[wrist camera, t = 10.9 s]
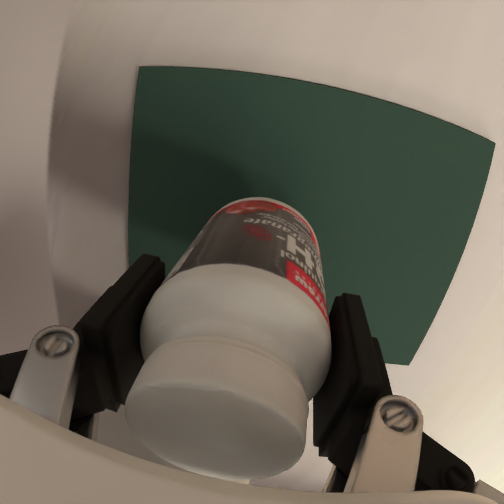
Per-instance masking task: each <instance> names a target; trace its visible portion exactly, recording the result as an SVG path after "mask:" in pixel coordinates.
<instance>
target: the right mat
mask: <svg viewBox="0 0 504 504" xmlns="http://www.w3.org/2000/svg"><path fill="white" fill-rule="evenodd" d="M494 148H495V143H494V142H492V141H490V140H488V139H485V138H483V137H481V136H479V135H477V134H474V133H472V132H470V131H467V130H465V129H463V128H460V127H458V126H455V125H453V124H450V123H448V122H445V121H443V120H440V119H437V118H435V117H432V116H429V115H427V114H424V113H421V112H418V111H415V110H412V109H409V108H406V107H403V106H400V105H397V104H394V103H390V102H387V101H384V100H380V99H377V98H373V97H370V96H366V95H362V94H358V93H355V92H351V91H347V90H342V89H338V88H334V87H329V86H325V85H320V84H315V83H310V82H305V81H300V80H295V79H289V78H283V77H277V76H270V75H263V74H256V73H248V72H239V71H229V70H218V69H206V68H189V67H139V74H138V81H137V89H136V97H135V107H134V117H133V128H132V140H131V155H130V175H129V215H128V234H129V268H130V267H131V266H132V265H133V263H134V262H135V261H136V260H137V259H138V258H139V257H140V256H141V255H142V254H148V255H153V256H158V257H160V259H161V262H164V263H165V279H166V277H167V276H168V274H169V273H170V272H171V270H172V269H173V268H174V266H175V265H176V264H177V262H178V261H179V260H180V258H181V257H182V256H183V254H184V253H185V252H186V250H187V249H188V247H189V246H190V245H191V244H192V242H193V241H194V239H195V238H196V237H197V235H198V234H199V233H200V232H201V230H202V229H203V227H204V226H205V224H206V223H207V222H208V221H209V220H210V219H211V217H212V216H213V215H214V214H215V213H216V212H217V211H219V210H220V209H221V208H223V207H224V206H226V205H227V204H229V203H231V202H233V201H236V200H240V199H244V198H251V197H264V198H270V199H274V200H277V201H280V202H283V203H285V204H287V205H289V206H291V207H292V208H294V209H295V210H296V211H298V212H299V213H300V214H301V215H302V216H303V217H304V218H305V219H306V220H307V221H308V223H309V224H310V226H311V227H312V229H313V231H314V233H315V236H316V239H317V242H318V246H319V251H320V258H321V264H322V272H323V279H324V287H325V294H326V302H327V310H328V317H329V314H330V311H331V308H332V305H333V302H334V299H335V297H336V296H341V295H342V293H343V292H344V293H349V294H355V295H360V297H361V300H362V303H363V307H364V310H365V314H366V318H367V321H368V325H369V328H370V332H371V336H372V337H376V338H377V339H378V341H379V344H380V348H381V352H382V355H383V359H384V363H389V364H399V365H409V364H410V362H411V361H412V359H413V357H414V355H415V354H416V352H417V350H418V348H419V346H420V345H421V343H422V341H423V339H424V337H425V335H426V333H427V331H428V329H429V328H430V326H431V324H432V322H433V320H434V318H435V316H436V314H437V311H438V309H439V307H440V305H441V303H442V301H443V299H444V297H445V294H446V292H447V290H448V288H449V285H450V283H451V281H452V279H453V276H454V274H455V271H456V269H457V267H458V264H459V262H460V259H461V257H462V254H463V251H464V249H465V246H466V243H467V241H468V238H469V235H470V232H471V229H472V227H473V224H474V221H475V218H476V215H477V211H478V208H479V205H480V202H481V199H482V195H483V192H484V188H485V185H486V181H487V177H488V173H489V169H490V165H491V161H492V157H493V153H494Z"/></svg>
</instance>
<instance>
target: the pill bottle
mask: <svg viewBox="0 0 504 504" xmlns="http://www.w3.org/2000/svg"><path fill="white" fill-rule="evenodd" d="M140 347H141V352H142V355H143V359H144V361H145V363H144V365H143V366H142V368H141V370H140V372H139V374H138V376H137V378H136V380H135V382H134V384H133V386H132V388H131V390H130V392H129V394H128V396H127V399H126V402H125V408H124V410H125V416H126V420H127V423H128V425H129V427H130V429H131V430H132V432H133V433H134V435H135V436H136V437H137V439H138V440H139V441H140V442H141V443H142V444H143V445H144V446H146V447H147V448H148V449H149V450H150V451H152V452H153V453H155V454H156V455H158V456H159V457H161V458H162V459H164V460H166V461H167V462H169V463H171V464H173V465H176V466H178V467H180V468H182V469H185V470H187V471H190V472H194V473H197V474H201V475H205V476H210V477H215V478H220V479H228V480H253V479H261V478H265V477H270V476H274V475H277V474H279V473H281V472H283V471H286V470H288V469H289V468H291V467H292V466H293V465H294V464H296V463H297V462H298V460H299V459H300V457H301V456H302V454H303V451H304V448H305V443H306V428H307V418H308V413H309V405H308V402H309V401H310V400H311V399H312V398H313V397H314V396H315V395H316V394H317V392H318V391H319V390H320V388H321V387H322V385H323V383H324V382H325V380H326V377H327V375H328V372H329V369H330V364H331V357H332V343H331V331H330V323H329V317H328V310H327V302H326V294H325V287H324V279H323V272H322V264H321V258H320V251H319V246H318V242H317V239H316V236H315V233H314V231H313V229H312V227H311V226H310V224H309V223H308V221H307V220H306V219H305V218H304V217H303V216H302V215H301V214H300V213H299V212H298V211H296V210H295V209H294V208H292V207H291V206H289V205H287V204H285V203H283V202H280V201H277V200H274V199H270V198H264V197H251V198H244V199H240V200H236V201H233V202H231V203H229V204H227V205H226V206H224V207H223V208H221V209H220V210H219V211H217V212H216V213H215V214H214V215H213V216H212V217H211V219H210V220H209V221H208V222H207V223H206V224H205V226H204V227H203V229H202V230H201V232H200V233H199V234H198V235H197V237H196V238H195V239H194V241H193V242H192V244H191V245H190V246H189V247H188V249H187V250H186V252H185V253H184V254H183V256H182V257H181V258H180V260H179V261H178V262H177V264H176V265H175V266H174V268H173V269H172V270H171V272H170V273H169V274H168V276H167V277H166V279H165V280H164V281H163V283H162V284H161V286H160V287H159V288H158V289H157V290H156V291H155V293H154V295H153V297H152V298H151V300H150V302H149V304H148V306H147V308H146V310H145V312H144V315H143V318H142V321H141V326H140Z"/></svg>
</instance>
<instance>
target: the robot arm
mask: <svg viewBox="0 0 504 504" xmlns="http://www.w3.org/2000/svg"><path fill="white" fill-rule="evenodd" d="M164 280H165V263H164V262H161V259H160V257H158V256H153V255H148V254H142V255H141V256H140V257H139V258H138V259H137V260H136V261H135V262H134V263H133V265H132V266H131V267H130V268H129V269H128V270H127V271H126V272H125V273H124V274H123V275H122V276H121V277H120V279H119V280H118V281H117V282H116V283H115V284H114V285H113V286H111V287H109V288H108V289H107V290H106V292H105V293H104V294H103V295H102V296H101V297H100V298H99V299H98V300H97V302H96V303H95V304H94V305H93V306H92V307H91V308H90V309H89V311H88V312H87V313H86V314H85V315H84V316H83V318H82V319H81V320H80V321H79V322H78V323H77V324H76V326H75V327H74V328H73V329H71V328H69V327H67V326H62V325H55V326H50V327H47V328H44V329H42V330H41V331H39V332H38V333H37V334H36V335H35V336H34V338H33V339H32V342H31V344H30V347H29V349H28V350H24V351H19V352H14V353H10V354H5V355H1V356H0V504H504V494H503V493H501V492H500V491H498V490H496V489H495V488H493V487H491V486H490V485H488V484H486V483H485V482H483V481H481V480H479V481H477V482H475V478H474V474H473V472H472V470H471V468H470V467H469V466H468V465H467V464H466V463H465V462H463V461H462V460H461V459H459V458H458V457H457V456H455V455H454V454H452V453H451V452H450V451H448V450H447V449H446V448H444V447H443V446H441V445H440V444H439V443H437V442H436V441H435V440H433V439H432V438H431V437H429V436H428V435H427V434H425V433H424V432H423V415H422V413H421V411H420V409H419V408H418V407H417V405H416V404H415V403H413V402H412V401H411V400H409V399H407V398H405V397H403V396H398V395H392V390H391V386H390V382H389V378H388V374H387V370H386V367H385V363H384V359H383V355H382V352H381V348H380V344H379V341H378V339H377V338H376V337H372V336H371V332H370V328H369V325H368V321H367V318H366V314H365V310H364V307H363V303H362V300H361V297H360V295H355V294H349V293H344V292H343V293H342V295H341V296H336V297H335V299H334V302H333V305H332V308H331V311H330V314H329V323H330V331H331V343H332V357H331V364H330V369H329V372H328V375H327V377H326V380H325V382H324V383H323V385H322V387H321V388H320V390H319V391H318V392H317V394H316V395H315V396H314V397H313V444H314V446H317V447H319V456H322V457H328V460H329V461H330V462H331V463H333V467H332V469H331V472H330V474H329V477H328V479H327V482H326V484H325V487H324V489H323V492H308V491H296V490H285V489H276V488H268V487H261V486H254V485H248V484H242V483H236V482H230V481H225V480H220V479H215V478H211V477H206V476H202V475H197V474H193V473H189V472H185V471H182V470H178V469H174V468H170V467H167V466H164V465H160V464H157V463H154V462H150V461H147V460H144V459H141V458H138V457H135V456H132V455H129V454H127V453H124V452H121V451H118V450H116V449H113V448H110V447H108V446H105V445H103V444H100V443H98V442H96V440H97V430H98V421H99V412H102V411H104V410H105V409H108V410H111V411H114V412H116V413H117V411H118V409H119V407H120V405H121V404H122V405H125V402H126V399H127V396H128V394H129V392H130V390H131V388H132V386H133V384H134V382H135V380H136V378H137V376H138V374H139V372H140V370H141V368H142V366H143V365H144V363H145V361H144V359H143V355H142V352H141V347H140V326H141V321H142V318H143V315H144V312H145V310H146V308H147V306H148V304H149V302H150V300H151V298H152V297H153V295H154V293H155V291H156V290H157V289H158V288H159V287H160V286H161V284H162V283H163V281H164Z"/></svg>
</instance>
